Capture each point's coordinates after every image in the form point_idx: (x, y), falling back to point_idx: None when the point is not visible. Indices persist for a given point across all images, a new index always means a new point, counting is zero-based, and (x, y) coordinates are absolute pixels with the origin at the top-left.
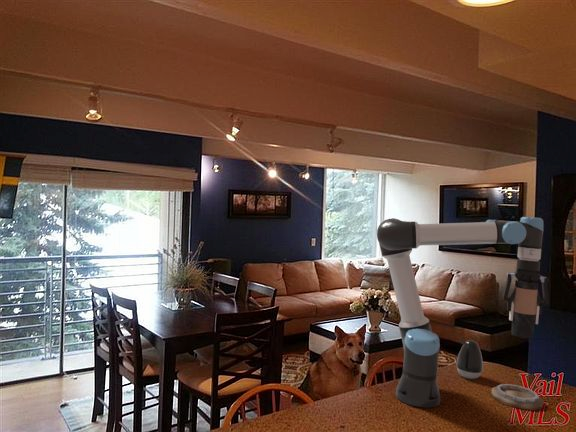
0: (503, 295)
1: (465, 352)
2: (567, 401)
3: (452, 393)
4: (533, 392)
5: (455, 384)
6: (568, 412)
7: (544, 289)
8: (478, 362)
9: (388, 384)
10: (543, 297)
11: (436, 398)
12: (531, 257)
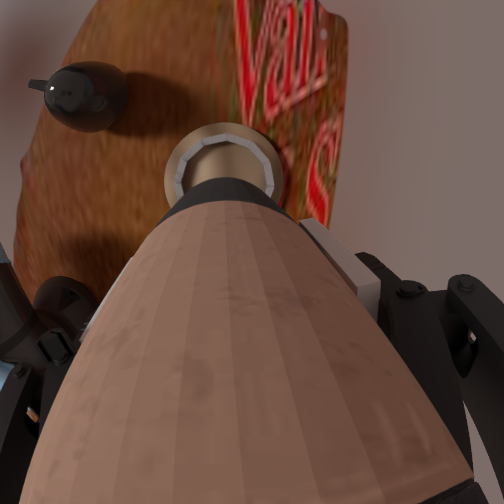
0: (25, 418)
1: (61, 122)
2: (336, 115)
3: (98, 244)
4: (263, 162)
5: (88, 183)
6: (330, 186)
7: (500, 475)
8: (106, 113)
9: (18, 279)
10: (479, 344)
11: None
12: None
